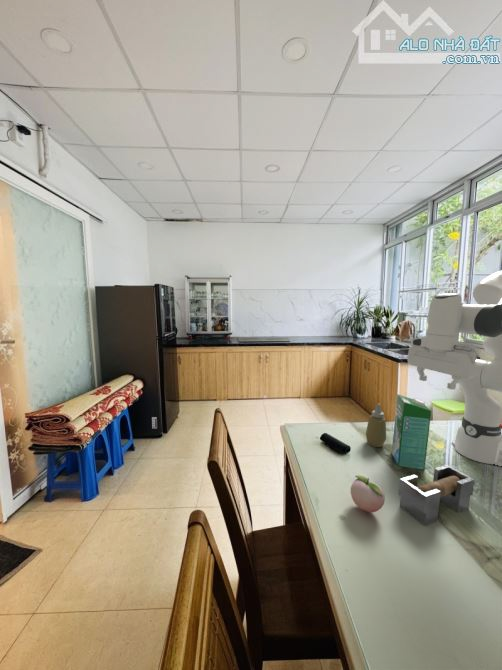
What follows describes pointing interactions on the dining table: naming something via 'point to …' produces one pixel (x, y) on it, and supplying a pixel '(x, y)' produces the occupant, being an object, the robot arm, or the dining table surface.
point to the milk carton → (411, 432)
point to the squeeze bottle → (376, 428)
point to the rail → (441, 485)
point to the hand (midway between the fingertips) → (436, 384)
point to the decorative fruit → (367, 494)
